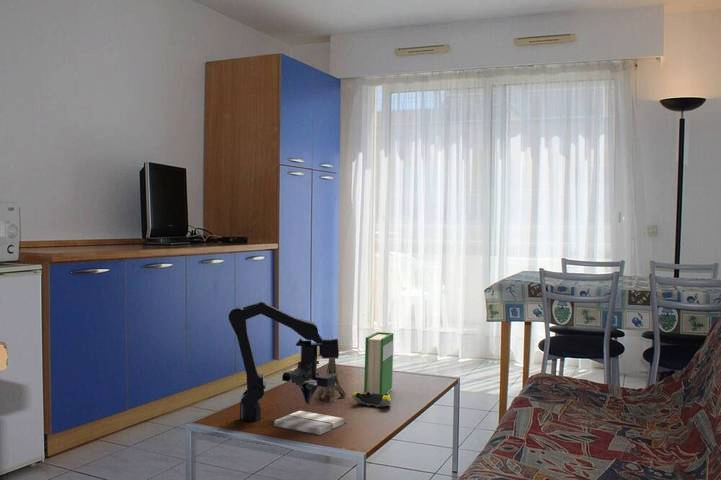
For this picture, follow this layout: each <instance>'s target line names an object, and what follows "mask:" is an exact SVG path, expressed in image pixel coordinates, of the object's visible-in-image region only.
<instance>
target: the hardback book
mask: <svg viewBox="0 0 721 480" xmlns="http://www.w3.org/2000/svg"><path fill="white" fill-rule="evenodd" d="M394 334H395V333H393V332H380V331H376V332H374V333H372V334H370V335H368V336H366V337H365V349H364V381H363V383H364V384H363V394H365V393H366V392H370V394H372V393H374V394H381V395H383V396H384V395H385V394H386V393H387V392H388V391H389V390H390V389H391V388H392V389H393V372H394V371H393V367H394V365H393V364H394V361H393V360H394Z"/></svg>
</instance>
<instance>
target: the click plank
mask: <svg viewBox="0 0 721 480" xmlns="http://www.w3.org/2000/svg"><path fill="white" fill-rule="evenodd" d="M287 416H291V417H296V418H302V419H307V420H313V421H318V422H323V423H329V424H332V429H334V428H335V429H337V427H338V428H339V427H341V426H340V425H342V426H343V424H344V423H345V418H343V417H338V416H333V415H326V414H320V413H315V412H310V411H304V410H297V411H295V412H292V413H290V414H288V415H287ZM344 425H345V424H344ZM335 429H334V430H335Z"/></svg>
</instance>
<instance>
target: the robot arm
mask: <svg viewBox="0 0 721 480" xmlns="http://www.w3.org/2000/svg"><path fill="white" fill-rule="evenodd" d="M259 315H263V316H265V317H267V318H269V319H271V320H273V321H275V322H277V323H279V324H281V325H284V326H285V327H287V328H290V329H291V330H293V331H294V332H296V334H298V335H299V336H301V337H302V338H303V339H305V340H303V339H302V338H299V339H298V340H297V341H296V342H295V346H296V347H300V361H298V363H297V366H296V368H294V369H293V370H288V371H284V372H283V373H282V377H281V380H282V381H284V382H290V381H291V382H290V383H293V384H295V385H296V386H297V387H299V388H300V390H301V393H302V395H303V398H304V401H305V404H309V405H310V404H311V401H312V399H313V398H314V397H313V396H314V394H315V392H316V390H317V389H318V387H320V388H321V387H329V386H332V385H335V378H334V377H333V376H327V375H325V374H324V375H322V376H319V375H320V374H319V372H318V370H317V369H318V365H319V364H320V360H318V356H320V357H321V358H322V359H323V360H324V359H328V360H329V359H335V360H336V359H339V353H340V349H339V340H338V338H333V339H330V338H329V339H327V338H326V339H325V338H323V337H322V336H321V335H320V334H319V329H318V327H317V324H316V323H314V322H313V321H309V320H307V319H302V318H297V317H294V316H292V315H290V314H288V313H287V312H284V311H283V310H280V309H278V308H276V307H274V306H272V305H270V304H267V303H266V302H265V301H258V302H256V303H254V304H250V305H247V306H244V307H242V306H235V307H233V308H232V309H231V310H230V312H229V313H228V320H229V323H230V326H231V327H232V330H233V332H234V333H235V336H236V339H237V341H238V347H239V349H240V354H241V357H242V358H241V359H242V362H243V366H244V370H245V374H246V389H245V390H244V391H243V393H242V394H241V398H240V402H239V417H238V421H242V422H248V423H254V422H257V421H260V420H261V412H262V407H261V403H260V402H259V401H260V400H261V399H262V398H263V397H264V395H265V389H266V388H267V383H266V381H265V377H264V375H265V373H261V374H260V373H259V370H258V369H257V365H256V361H255V356H254V352H253V348H252V344H251V340H250V336H249V333H248V320H249V319H251V318H254V317H256V316H259ZM312 341H313V342H312ZM266 390H267V389H266Z"/></svg>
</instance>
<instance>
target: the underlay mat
mask: <svg viewBox="0 0 721 480" xmlns="http://www.w3.org/2000/svg"><path fill="white" fill-rule="evenodd" d="M346 424H347V422H344V424H342V425H340V426H338V427H336V428H334V429H332V430H330V431H327V432H325V433H323V434H321V435H319V434H314V433H311V435H312V434H313V435H316V436H322V435H325V434H327V433H329V432H331V431H333V430H336V429H337V428H339V427H342V426H343V425H346ZM274 427H276V428H279V427H278V426H274ZM280 428H281V429H284V428H283V427H280ZM285 429H287V430H289V429H288V428H285ZM291 430H292V431H294V430H293V429H290V431H291ZM295 431H297V432H299V431H298V430H295ZM300 432H302V433H304V432H303V431H300ZM305 433H307V434H309V432H305Z"/></svg>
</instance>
